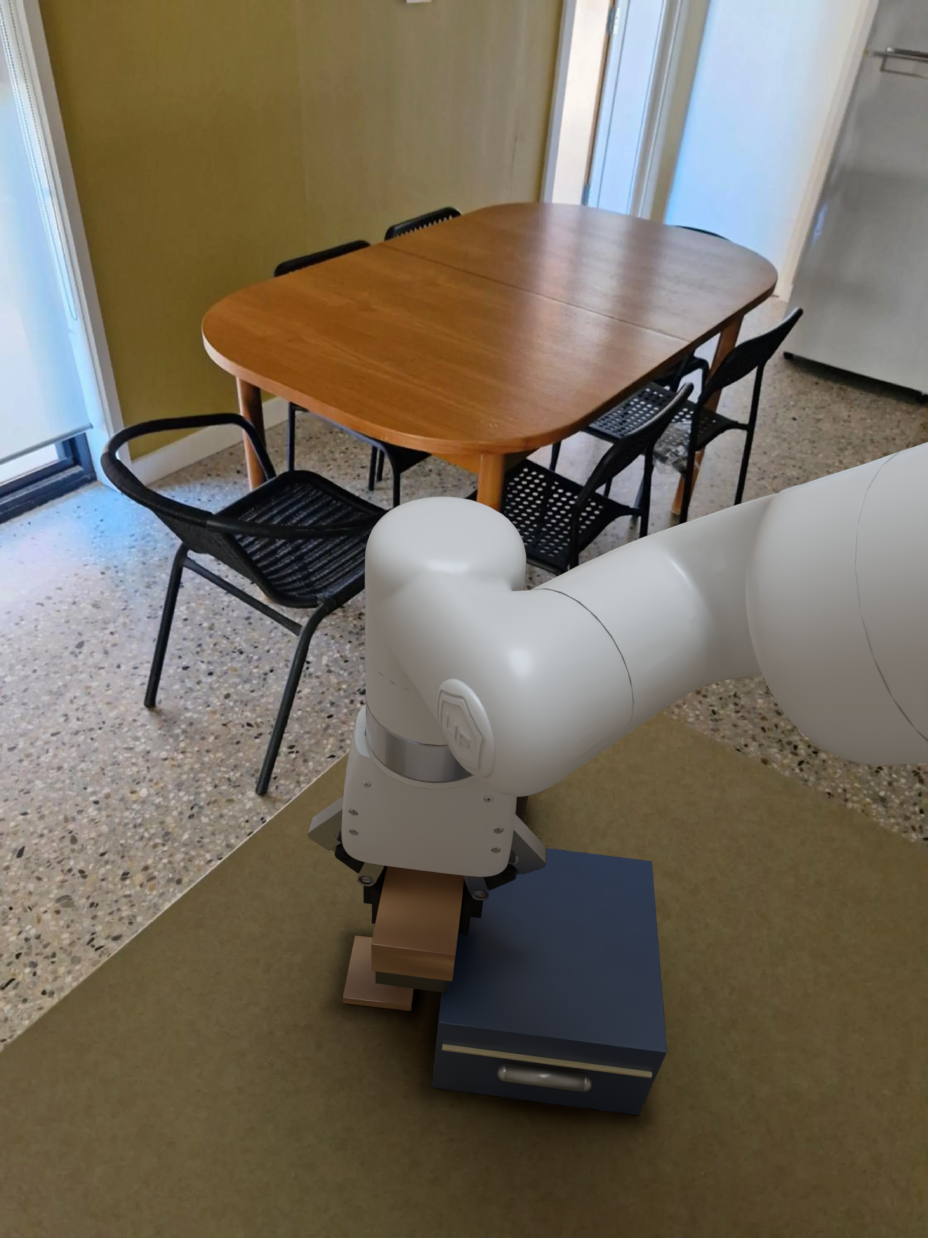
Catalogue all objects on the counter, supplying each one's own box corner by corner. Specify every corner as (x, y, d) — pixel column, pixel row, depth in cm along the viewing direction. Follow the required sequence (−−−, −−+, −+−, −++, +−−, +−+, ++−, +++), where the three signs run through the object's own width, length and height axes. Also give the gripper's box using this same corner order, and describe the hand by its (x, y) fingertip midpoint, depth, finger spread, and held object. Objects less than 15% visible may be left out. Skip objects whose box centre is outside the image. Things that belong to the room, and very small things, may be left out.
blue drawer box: (640, 1135, 58) (669, 1073, 53) (429, 1106, 59) (435, 1042, 53) (629, 929, 70) (652, 860, 65) (454, 907, 71) (461, 837, 65)
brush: (398, 844, 64) (400, 799, 61) (467, 852, 64) (472, 808, 61) (371, 988, 55) (371, 944, 52) (450, 998, 55) (455, 955, 52)
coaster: (342, 998, 64) (342, 1003, 64) (411, 1006, 63) (411, 1011, 64) (355, 935, 67) (355, 941, 68) (420, 942, 67) (419, 948, 68)
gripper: (592, 689, 50) (551, 879, 62) (296, 654, 51) (310, 848, 62) (594, 791, 45) (548, 980, 56) (260, 750, 45) (282, 945, 57)
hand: (423, 909), depth 59 cm, fingers closed on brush, 5 cm apart
